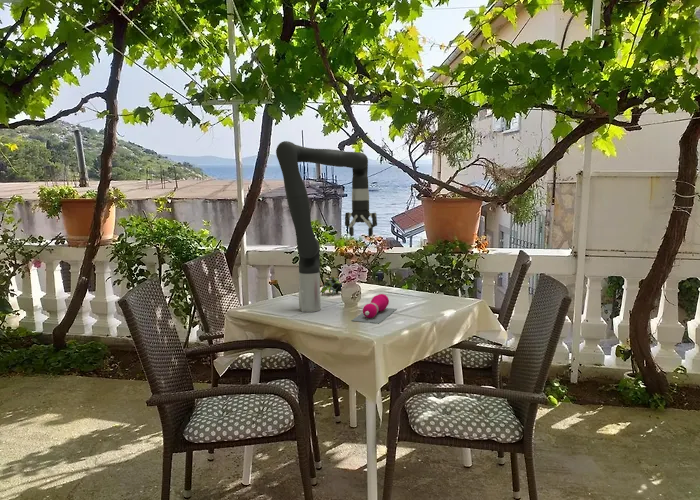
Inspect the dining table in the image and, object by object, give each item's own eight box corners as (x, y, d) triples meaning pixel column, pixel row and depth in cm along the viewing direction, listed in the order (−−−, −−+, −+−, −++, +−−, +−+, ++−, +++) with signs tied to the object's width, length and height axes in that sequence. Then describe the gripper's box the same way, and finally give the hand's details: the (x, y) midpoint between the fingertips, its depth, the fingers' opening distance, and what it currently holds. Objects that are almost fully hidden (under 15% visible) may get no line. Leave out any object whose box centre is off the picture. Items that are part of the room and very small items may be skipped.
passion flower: (336, 303, 266) (350, 284, 265) (333, 304, 255) (347, 284, 254) (319, 290, 267) (332, 271, 267) (315, 291, 256) (329, 271, 256)
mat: (379, 323, 207) (379, 322, 207) (351, 321, 211) (351, 320, 211) (397, 309, 229) (397, 308, 228) (371, 307, 233) (371, 306, 233)
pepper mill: (376, 290, 228) (360, 302, 210) (391, 296, 226) (376, 309, 208) (372, 305, 230) (356, 318, 212) (387, 310, 228) (372, 324, 210)
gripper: (342, 199, 223) (342, 236, 225) (372, 199, 217) (373, 237, 220) (348, 199, 230) (349, 234, 232) (378, 198, 224) (379, 235, 226)
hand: (361, 236), depth 226 cm, fingers open, 8 cm apart
